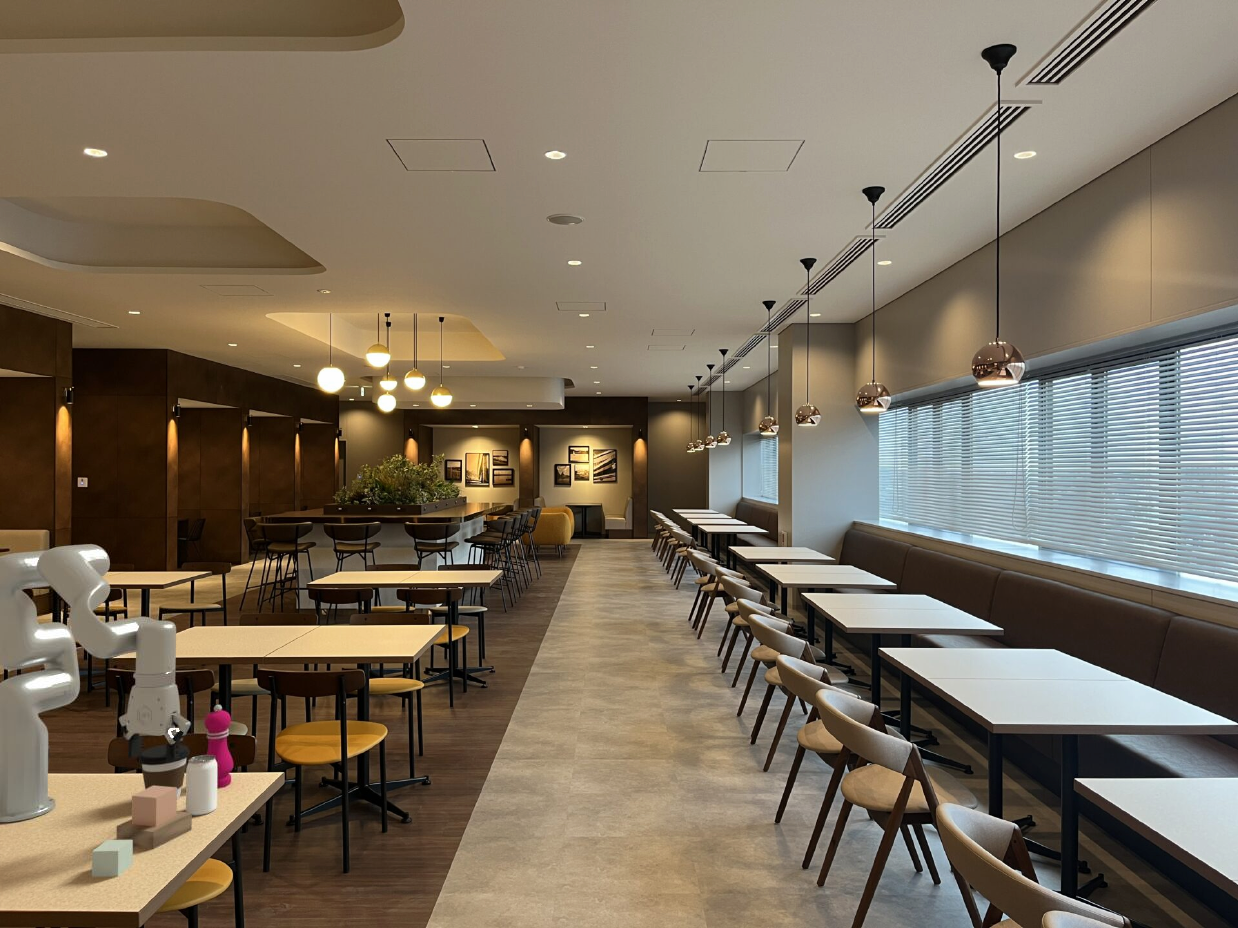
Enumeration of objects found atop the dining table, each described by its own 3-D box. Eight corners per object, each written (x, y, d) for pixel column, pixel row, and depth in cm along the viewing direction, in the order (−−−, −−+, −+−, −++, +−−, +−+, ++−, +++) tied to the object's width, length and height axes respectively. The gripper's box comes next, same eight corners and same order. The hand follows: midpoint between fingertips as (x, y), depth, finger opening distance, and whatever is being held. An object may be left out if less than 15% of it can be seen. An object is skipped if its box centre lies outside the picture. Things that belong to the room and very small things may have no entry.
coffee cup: (194, 801, 197) (195, 751, 197) (142, 813, 190) (143, 761, 190) (183, 788, 205) (184, 740, 205) (133, 799, 198) (134, 749, 198)
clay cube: (131, 823, 176) (131, 795, 176) (153, 812, 181) (153, 785, 182) (156, 826, 174) (156, 797, 174) (176, 814, 180) (176, 787, 180)
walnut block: (116, 844, 175) (116, 825, 175) (156, 825, 184) (156, 807, 184) (153, 851, 171) (153, 831, 172) (191, 831, 181) (191, 813, 181)
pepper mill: (214, 778, 212) (215, 700, 212) (239, 780, 211) (239, 701, 211) (194, 788, 205) (195, 707, 205) (220, 790, 204) (220, 709, 204)
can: (204, 817, 188) (204, 764, 188) (179, 814, 189) (179, 762, 189) (223, 806, 194) (223, 754, 194) (199, 804, 195) (199, 753, 195)
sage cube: (91, 877, 160) (92, 851, 160) (106, 865, 165) (107, 839, 165) (118, 876, 160) (118, 850, 160) (132, 864, 165) (132, 839, 165)
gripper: (107, 680, 177) (106, 760, 177) (176, 686, 173) (174, 768, 173) (135, 672, 184) (134, 749, 184) (202, 677, 180) (200, 756, 180)
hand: (153, 758), depth 178 cm, fingers open, 9 cm apart
